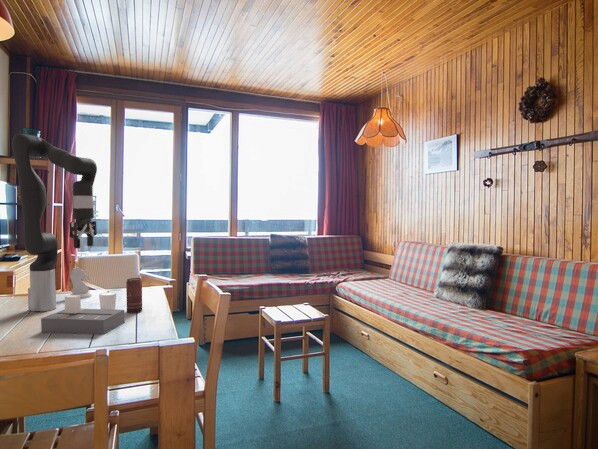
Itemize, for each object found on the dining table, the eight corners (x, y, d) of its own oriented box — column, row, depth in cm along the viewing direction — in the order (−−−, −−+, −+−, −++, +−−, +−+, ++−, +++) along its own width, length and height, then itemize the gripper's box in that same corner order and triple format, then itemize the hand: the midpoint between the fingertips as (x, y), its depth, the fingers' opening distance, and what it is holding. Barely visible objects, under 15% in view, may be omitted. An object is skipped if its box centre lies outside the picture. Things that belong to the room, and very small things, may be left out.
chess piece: (92, 297, 192) (91, 267, 192) (68, 300, 187) (68, 269, 187) (91, 294, 201) (90, 265, 200) (68, 296, 196) (68, 266, 195)
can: (137, 313, 164) (136, 280, 163) (123, 312, 165) (123, 279, 164) (145, 310, 170) (145, 278, 169) (132, 309, 171) (132, 277, 170)
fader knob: (65, 318, 144) (64, 296, 143) (70, 316, 147) (70, 295, 146) (75, 318, 143) (75, 297, 143) (80, 316, 146) (80, 295, 146)
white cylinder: (120, 308, 172) (120, 292, 172) (108, 312, 166) (107, 295, 166) (108, 307, 175) (107, 291, 174) (95, 310, 168) (95, 294, 168)
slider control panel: (41, 332, 139) (41, 318, 139) (67, 321, 153) (67, 308, 152) (103, 334, 137) (103, 319, 137) (124, 322, 151) (124, 309, 151)
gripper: (85, 207, 166) (85, 245, 167) (62, 207, 152) (63, 248, 153) (102, 207, 166) (102, 245, 166) (81, 207, 151) (81, 249, 152)
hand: (83, 247), depth 159 cm, fingers open, 8 cm apart
